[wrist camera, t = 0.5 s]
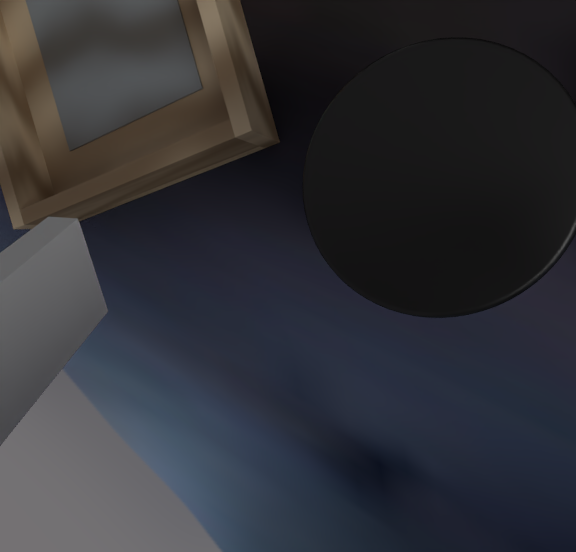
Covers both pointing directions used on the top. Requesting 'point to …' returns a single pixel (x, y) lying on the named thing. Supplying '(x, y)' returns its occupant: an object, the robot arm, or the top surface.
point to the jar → (444, 177)
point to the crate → (121, 100)
